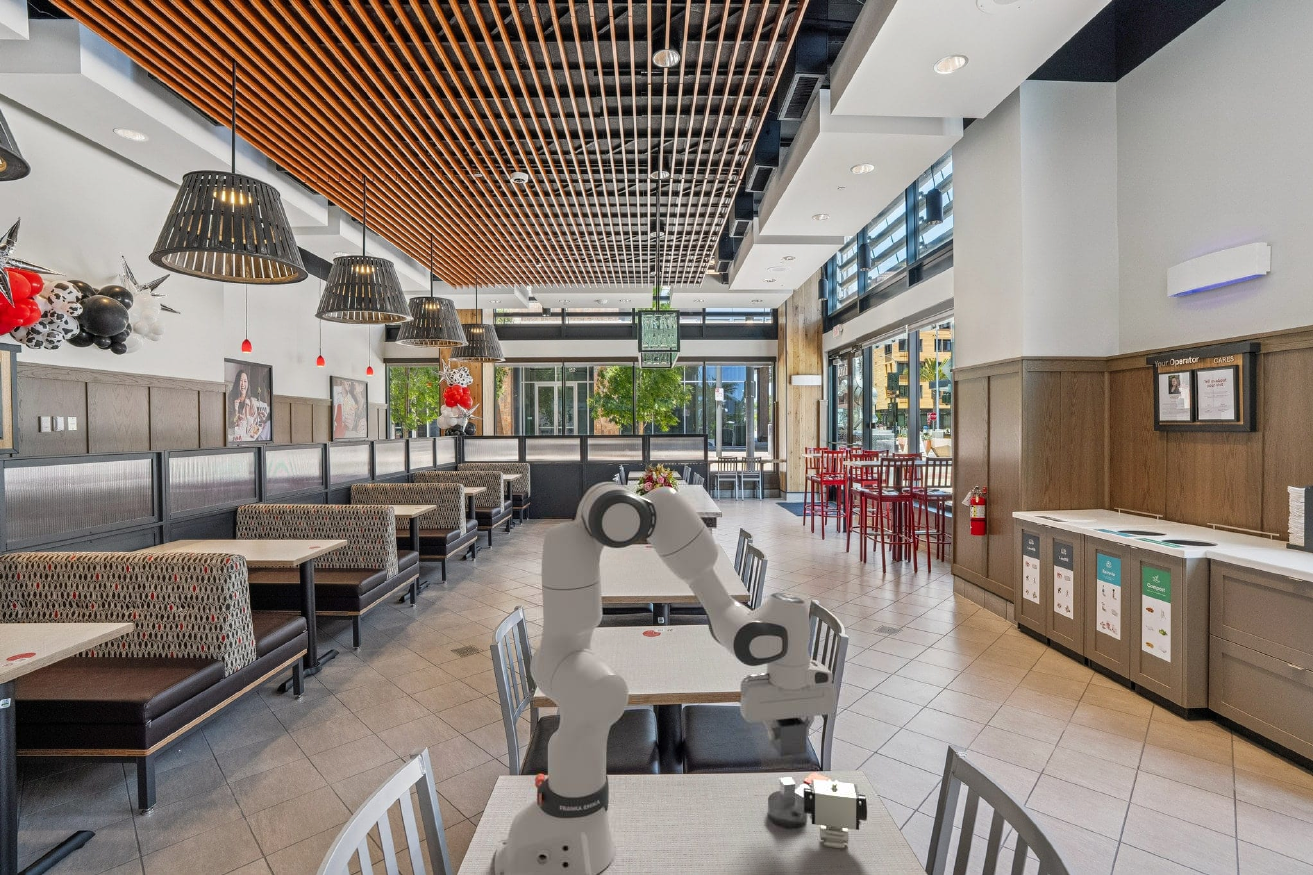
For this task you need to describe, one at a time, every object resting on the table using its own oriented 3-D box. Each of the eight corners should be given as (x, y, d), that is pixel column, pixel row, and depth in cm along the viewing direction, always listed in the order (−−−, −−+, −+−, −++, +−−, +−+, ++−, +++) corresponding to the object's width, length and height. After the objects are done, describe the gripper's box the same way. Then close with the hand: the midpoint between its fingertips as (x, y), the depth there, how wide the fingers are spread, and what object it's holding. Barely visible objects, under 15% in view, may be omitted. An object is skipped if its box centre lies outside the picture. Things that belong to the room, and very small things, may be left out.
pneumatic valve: (866, 855, 117) (867, 793, 116) (803, 846, 119) (804, 786, 119) (863, 836, 122) (863, 777, 122) (802, 828, 124) (803, 770, 124)
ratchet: (793, 834, 123) (793, 797, 122) (760, 816, 128) (760, 781, 128) (837, 795, 135) (837, 761, 135) (805, 780, 141) (805, 748, 141)
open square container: (780, 756, 125) (780, 727, 125) (770, 741, 130) (770, 714, 130) (806, 753, 126) (806, 724, 126) (795, 739, 131) (795, 711, 131)
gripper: (745, 682, 122) (745, 750, 123) (840, 673, 126) (840, 739, 127) (735, 669, 129) (736, 734, 129) (826, 661, 132) (826, 724, 133)
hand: (788, 736), depth 128 cm, fingers closed on open square container, 6 cm apart
